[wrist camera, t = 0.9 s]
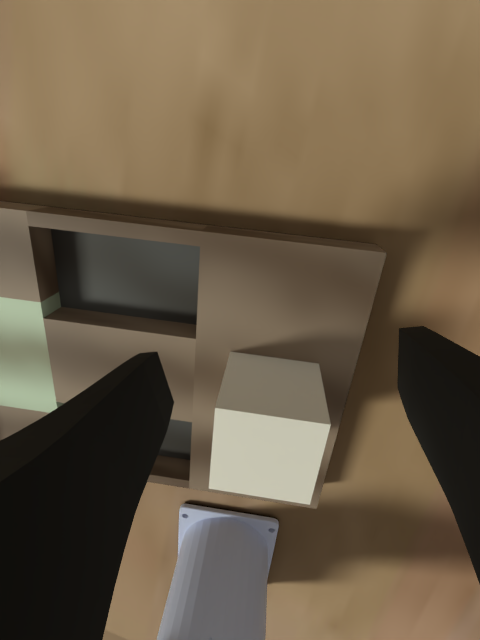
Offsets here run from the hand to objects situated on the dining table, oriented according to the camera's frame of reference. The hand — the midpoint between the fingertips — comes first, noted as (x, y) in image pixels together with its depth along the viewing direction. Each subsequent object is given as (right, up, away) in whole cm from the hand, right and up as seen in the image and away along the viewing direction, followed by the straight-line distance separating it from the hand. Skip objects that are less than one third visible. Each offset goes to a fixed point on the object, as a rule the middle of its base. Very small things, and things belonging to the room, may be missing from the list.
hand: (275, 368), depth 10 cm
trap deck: (-7, -1, +12) cm, 14 cm away
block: (+1, -3, +10) cm, 10 cm away
